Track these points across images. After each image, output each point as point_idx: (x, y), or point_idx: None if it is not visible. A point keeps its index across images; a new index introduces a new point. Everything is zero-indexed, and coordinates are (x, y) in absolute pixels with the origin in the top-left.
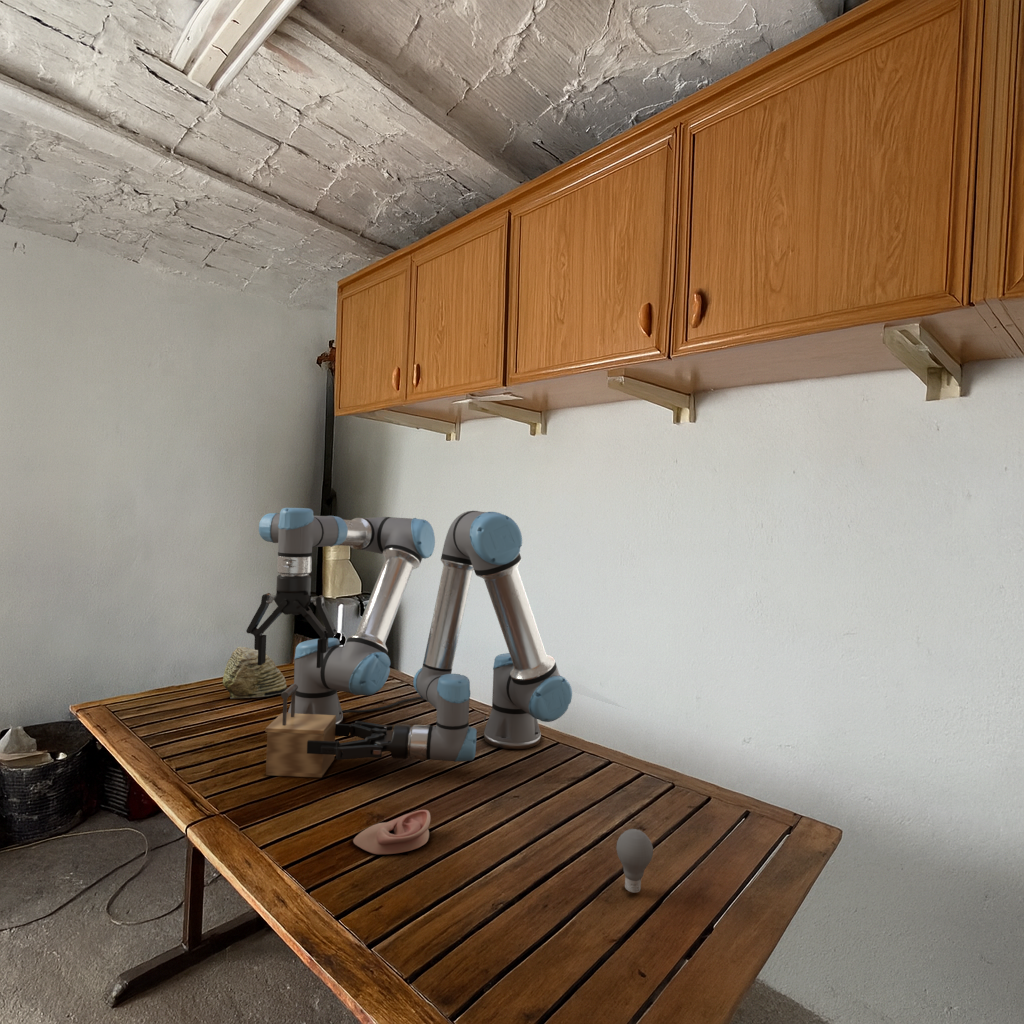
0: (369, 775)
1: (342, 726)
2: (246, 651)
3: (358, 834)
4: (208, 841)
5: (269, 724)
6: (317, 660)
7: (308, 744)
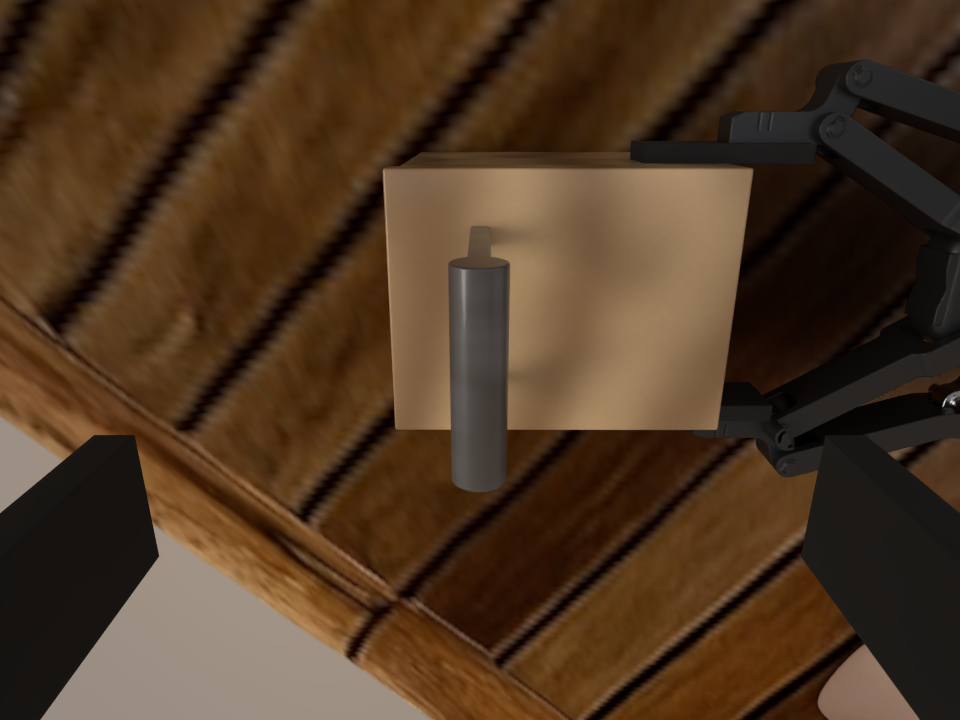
0: (845, 304)
1: (770, 163)
2: None
3: (834, 694)
4: (442, 714)
5: (393, 375)
6: (854, 616)
7: None
